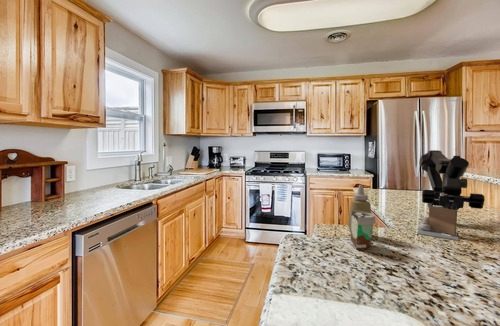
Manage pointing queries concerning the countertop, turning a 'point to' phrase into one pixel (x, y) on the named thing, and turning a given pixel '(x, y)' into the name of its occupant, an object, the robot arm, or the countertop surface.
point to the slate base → (437, 234)
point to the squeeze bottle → (359, 204)
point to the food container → (361, 229)
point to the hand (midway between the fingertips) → (451, 216)
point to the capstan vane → (440, 220)
